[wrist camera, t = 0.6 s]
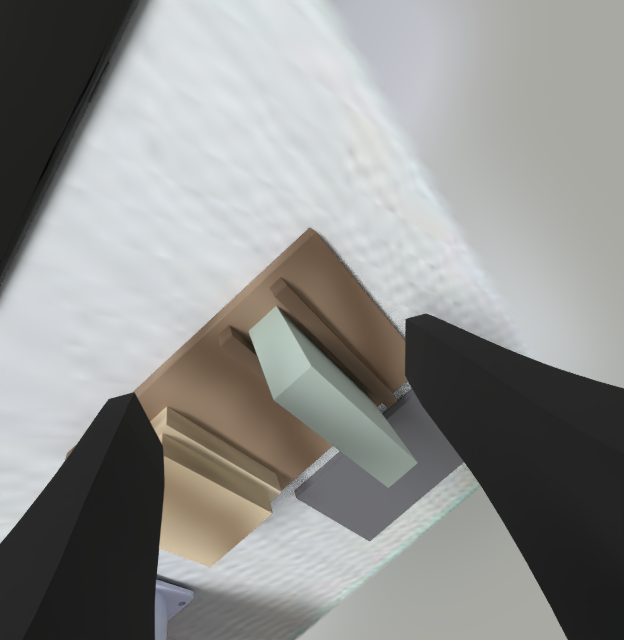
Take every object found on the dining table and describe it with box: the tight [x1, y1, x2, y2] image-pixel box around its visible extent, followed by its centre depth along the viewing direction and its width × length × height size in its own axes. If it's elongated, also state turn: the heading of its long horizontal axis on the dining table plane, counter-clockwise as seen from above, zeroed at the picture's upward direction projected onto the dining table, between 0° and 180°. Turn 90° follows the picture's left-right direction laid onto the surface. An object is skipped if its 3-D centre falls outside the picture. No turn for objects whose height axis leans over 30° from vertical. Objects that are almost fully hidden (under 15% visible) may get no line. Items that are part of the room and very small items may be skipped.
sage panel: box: [249, 306, 418, 488], centre depth 20 cm, size 2×9×6 cm, turn 39°
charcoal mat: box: [294, 389, 464, 541], centre depth 30 cm, size 12×10×1 cm
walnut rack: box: [65, 228, 407, 491], centre depth 22 cm, size 18×12×2 cm, turn 129°
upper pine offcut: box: [159, 433, 273, 568], centre depth 21 cm, size 5×8×2 cm, turn 39°
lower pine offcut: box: [150, 407, 281, 502], centre depth 22 cm, size 6×9×2 cm, turn 39°
